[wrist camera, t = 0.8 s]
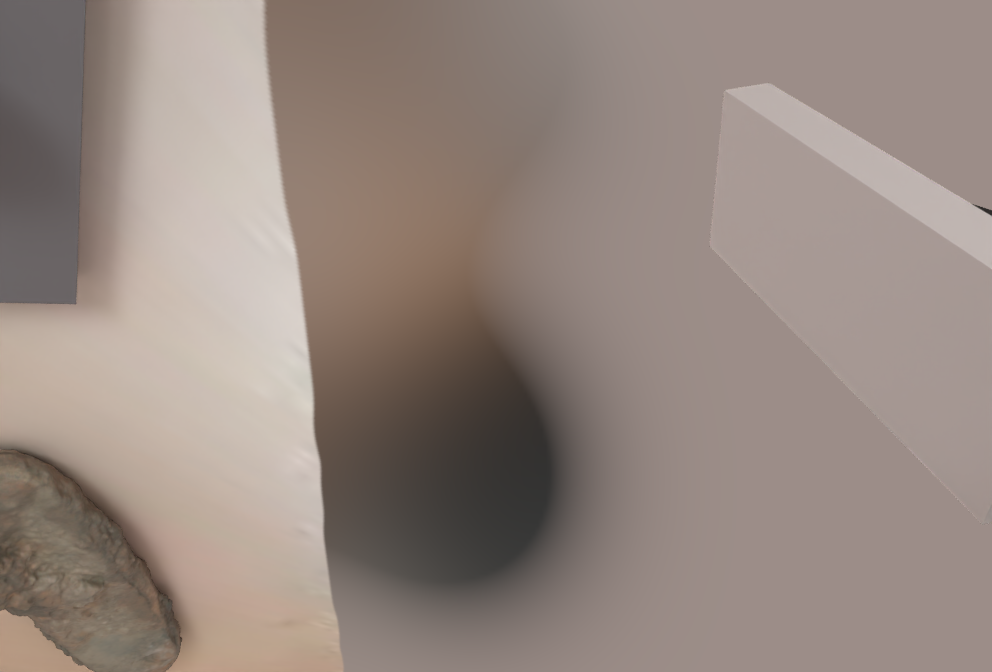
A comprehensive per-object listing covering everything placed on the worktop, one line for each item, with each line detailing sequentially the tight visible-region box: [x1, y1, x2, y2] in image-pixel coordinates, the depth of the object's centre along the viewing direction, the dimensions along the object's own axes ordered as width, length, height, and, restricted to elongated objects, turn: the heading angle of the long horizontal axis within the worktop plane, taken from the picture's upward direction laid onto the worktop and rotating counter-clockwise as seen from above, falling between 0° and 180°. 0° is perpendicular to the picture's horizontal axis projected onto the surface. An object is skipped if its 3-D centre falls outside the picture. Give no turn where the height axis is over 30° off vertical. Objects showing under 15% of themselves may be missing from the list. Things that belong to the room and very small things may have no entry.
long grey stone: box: [0, 450, 182, 672], centre depth 62 cm, size 35×5×10 cm
